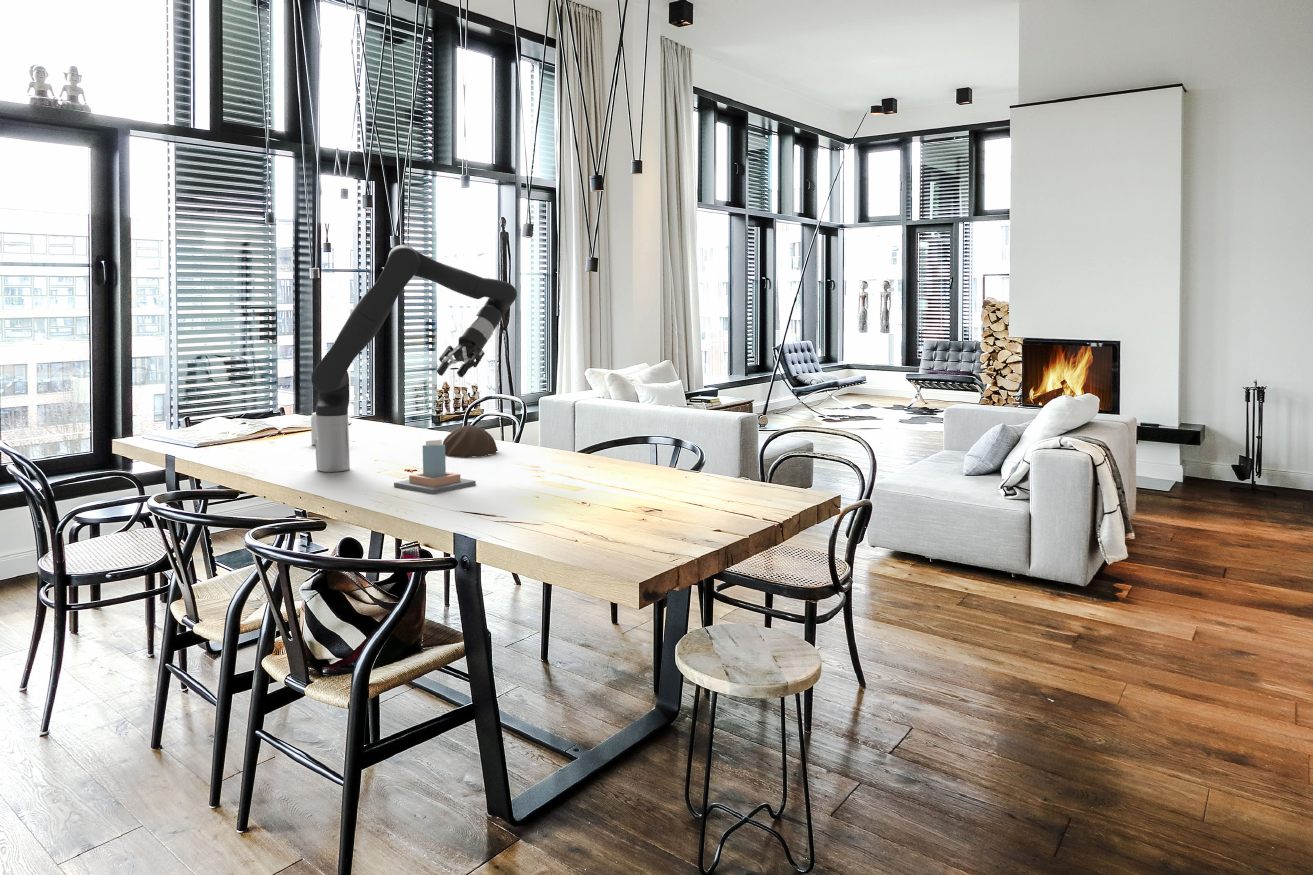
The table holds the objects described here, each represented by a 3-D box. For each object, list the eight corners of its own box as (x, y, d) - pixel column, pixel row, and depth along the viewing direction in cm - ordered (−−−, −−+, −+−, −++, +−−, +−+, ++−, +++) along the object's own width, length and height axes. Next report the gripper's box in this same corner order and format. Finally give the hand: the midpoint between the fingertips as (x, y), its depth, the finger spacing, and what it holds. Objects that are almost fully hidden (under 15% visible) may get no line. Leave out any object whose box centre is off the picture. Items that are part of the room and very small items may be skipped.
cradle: (394, 486, 253) (393, 475, 252) (437, 478, 266) (436, 467, 266) (433, 494, 244) (432, 482, 244) (475, 484, 257) (475, 473, 257)
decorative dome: (509, 452, 315) (509, 424, 313) (466, 460, 299) (466, 430, 298) (472, 447, 326) (472, 419, 325) (429, 453, 311) (428, 425, 309)
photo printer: (339, 442, 331) (338, 409, 329) (342, 443, 328) (341, 410, 326) (310, 444, 326) (309, 410, 324) (313, 446, 322) (311, 411, 320)
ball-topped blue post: (423, 481, 254) (422, 440, 253) (435, 479, 258) (434, 438, 256) (433, 483, 252) (433, 441, 250) (445, 481, 256) (445, 439, 254)
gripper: (453, 325, 274) (425, 364, 266) (487, 326, 266) (459, 367, 258) (466, 342, 279) (439, 381, 271) (499, 344, 271) (472, 384, 264)
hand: (449, 374), depth 265 cm, fingers open, 8 cm apart
